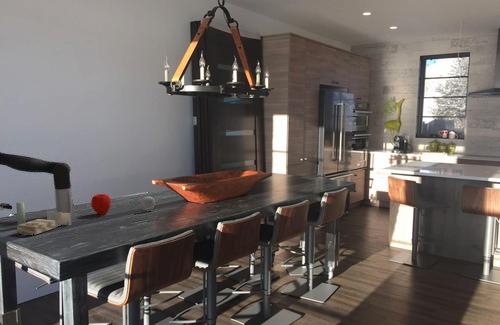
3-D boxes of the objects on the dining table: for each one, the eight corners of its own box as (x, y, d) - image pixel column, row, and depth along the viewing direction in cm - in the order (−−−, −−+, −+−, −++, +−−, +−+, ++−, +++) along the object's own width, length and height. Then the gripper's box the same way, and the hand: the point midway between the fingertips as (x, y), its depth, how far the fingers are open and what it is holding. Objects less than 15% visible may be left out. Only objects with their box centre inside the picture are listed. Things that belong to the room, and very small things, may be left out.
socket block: (38, 225, 229) (38, 219, 228) (55, 227, 225) (55, 220, 224) (17, 232, 215) (16, 225, 215) (35, 234, 212) (34, 227, 211)
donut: (142, 213, 261) (141, 197, 260) (139, 212, 264) (139, 197, 263) (156, 210, 268) (155, 195, 267) (153, 209, 270) (153, 195, 269)
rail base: (49, 222, 238) (48, 211, 238) (71, 224, 233) (70, 212, 233) (13, 234, 215) (12, 221, 214) (36, 236, 210) (35, 223, 209)
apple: (87, 215, 256) (86, 194, 254) (102, 211, 266) (101, 191, 265) (100, 217, 250) (99, 196, 249) (115, 213, 261) (114, 193, 259)
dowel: (22, 226, 231) (20, 201, 230) (27, 226, 230) (26, 202, 228) (16, 227, 227) (14, 203, 226) (21, 228, 226) (20, 203, 225)
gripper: (-29, 202, 229) (-7, 204, 224) (-6, 198, 242) (15, 200, 237) (-28, 215, 230) (-6, 218, 225) (-5, 210, 243) (16, 212, 238)
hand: (5, 208), depth 231 cm, fingers open, 8 cm apart
